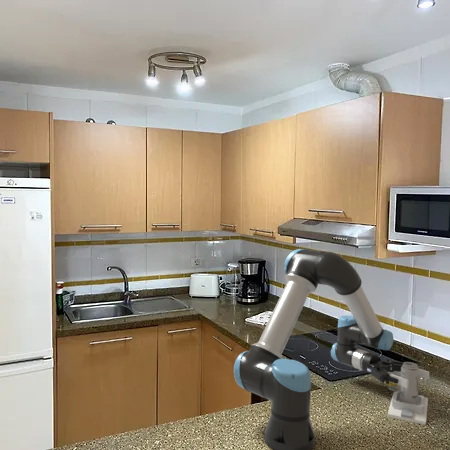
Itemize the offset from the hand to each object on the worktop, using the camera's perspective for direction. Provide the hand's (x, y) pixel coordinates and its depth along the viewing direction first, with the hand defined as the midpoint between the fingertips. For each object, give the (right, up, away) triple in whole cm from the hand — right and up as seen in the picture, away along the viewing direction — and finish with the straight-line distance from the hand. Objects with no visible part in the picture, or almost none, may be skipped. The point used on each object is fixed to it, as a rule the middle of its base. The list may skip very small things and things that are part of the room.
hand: (418, 379), depth 155 cm
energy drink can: (-2, -11, +3) cm, 11 cm away
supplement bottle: (-1, -11, +20) cm, 23 cm away
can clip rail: (-2, -11, +3) cm, 12 cm away
